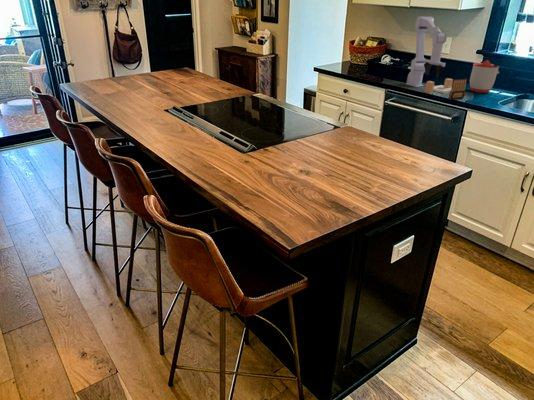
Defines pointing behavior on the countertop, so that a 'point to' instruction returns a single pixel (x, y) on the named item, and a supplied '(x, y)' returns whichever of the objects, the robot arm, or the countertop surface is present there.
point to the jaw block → (429, 87)
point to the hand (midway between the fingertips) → (431, 76)
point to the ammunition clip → (457, 90)
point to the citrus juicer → (483, 77)
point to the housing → (444, 87)
